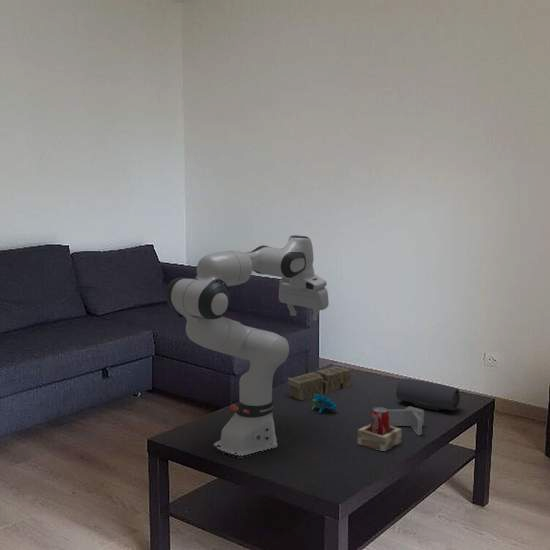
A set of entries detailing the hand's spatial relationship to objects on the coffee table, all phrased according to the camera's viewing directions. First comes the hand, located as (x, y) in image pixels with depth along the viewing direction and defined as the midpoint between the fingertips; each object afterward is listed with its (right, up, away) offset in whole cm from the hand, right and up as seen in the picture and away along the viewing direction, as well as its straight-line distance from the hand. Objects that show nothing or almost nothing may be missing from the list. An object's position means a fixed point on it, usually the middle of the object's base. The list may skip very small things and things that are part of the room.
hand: (303, 317), depth 259 cm
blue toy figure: (+8, -37, +18) cm, 42 cm away
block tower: (+8, -33, +40) cm, 53 cm away
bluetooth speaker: (+49, -36, +22) cm, 64 cm away
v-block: (+38, -39, +1) cm, 54 cm away
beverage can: (+25, -42, -13) cm, 51 cm away
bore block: (+25, -42, -13) cm, 50 cm away
